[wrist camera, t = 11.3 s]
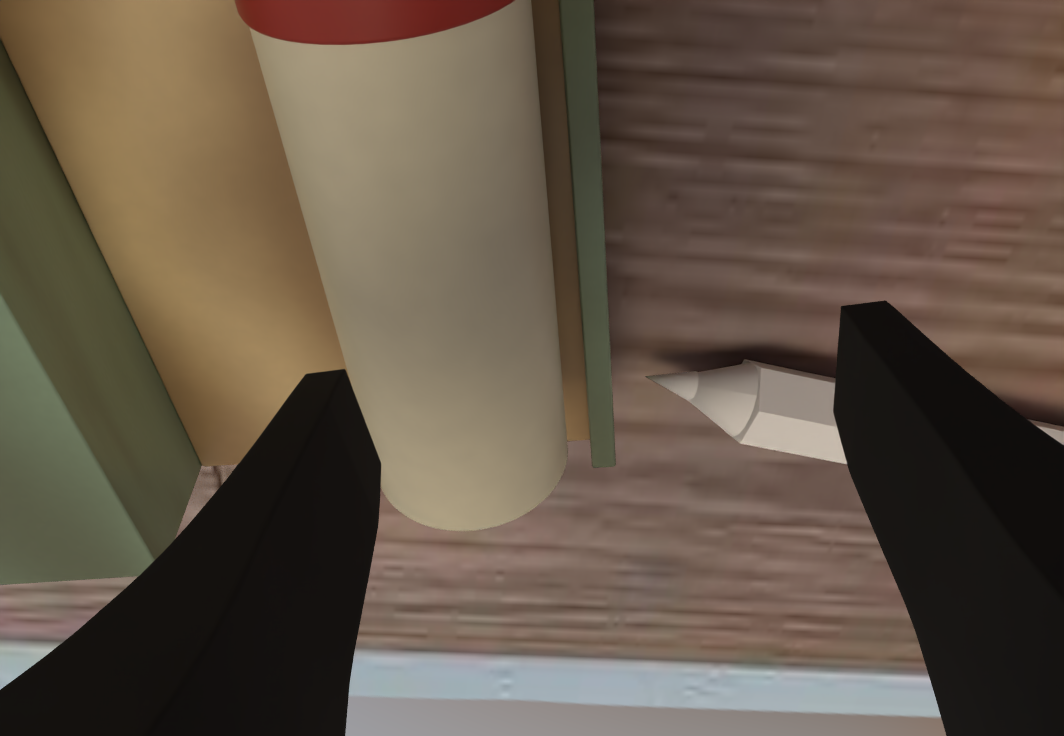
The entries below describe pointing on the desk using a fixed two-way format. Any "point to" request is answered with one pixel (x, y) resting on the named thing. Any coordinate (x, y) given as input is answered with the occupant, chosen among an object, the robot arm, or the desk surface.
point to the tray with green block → (199, 267)
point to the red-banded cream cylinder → (429, 238)
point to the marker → (774, 407)
